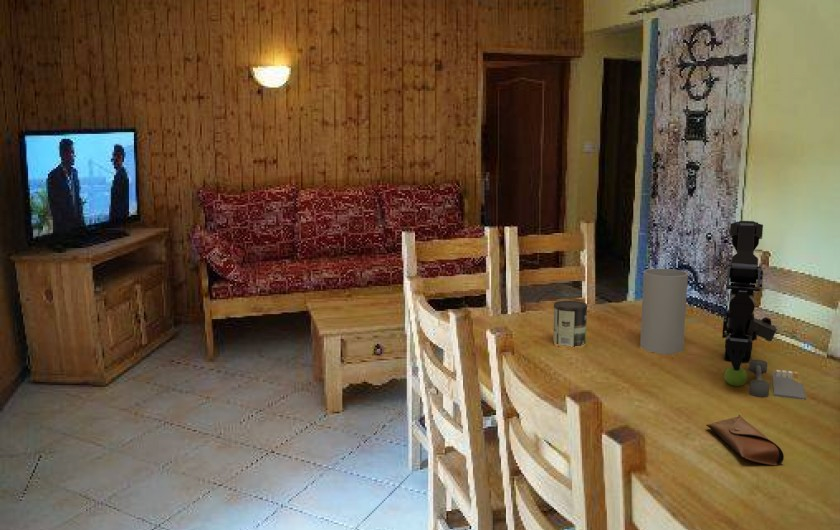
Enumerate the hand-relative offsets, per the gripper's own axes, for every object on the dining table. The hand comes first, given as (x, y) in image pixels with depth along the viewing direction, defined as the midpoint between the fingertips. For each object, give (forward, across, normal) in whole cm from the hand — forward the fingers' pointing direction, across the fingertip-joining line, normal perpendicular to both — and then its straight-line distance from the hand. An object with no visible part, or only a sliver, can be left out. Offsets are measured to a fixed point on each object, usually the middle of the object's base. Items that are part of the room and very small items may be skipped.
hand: (736, 367), depth 183 cm
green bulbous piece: (+5, +1, 0) cm, 5 cm away
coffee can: (+6, +18, +48) cm, 52 cm away
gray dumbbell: (+6, +3, -6) cm, 9 cm away
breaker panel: (+6, +4, -12) cm, 14 cm away
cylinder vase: (+6, +24, +21) cm, 33 cm away
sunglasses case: (+6, -40, 0) cm, 40 cm away
